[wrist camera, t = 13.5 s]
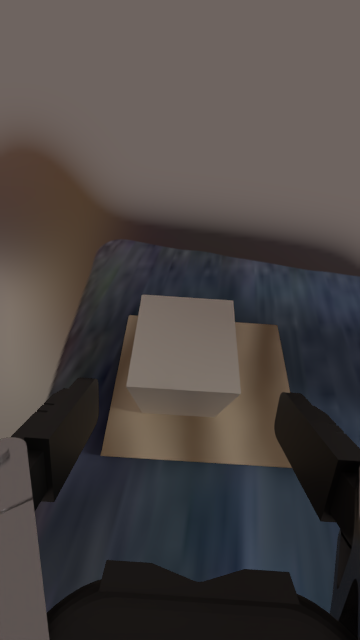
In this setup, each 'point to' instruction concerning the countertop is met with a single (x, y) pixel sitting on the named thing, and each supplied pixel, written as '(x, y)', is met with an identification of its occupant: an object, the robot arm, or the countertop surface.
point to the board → (207, 432)
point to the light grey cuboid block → (184, 356)
